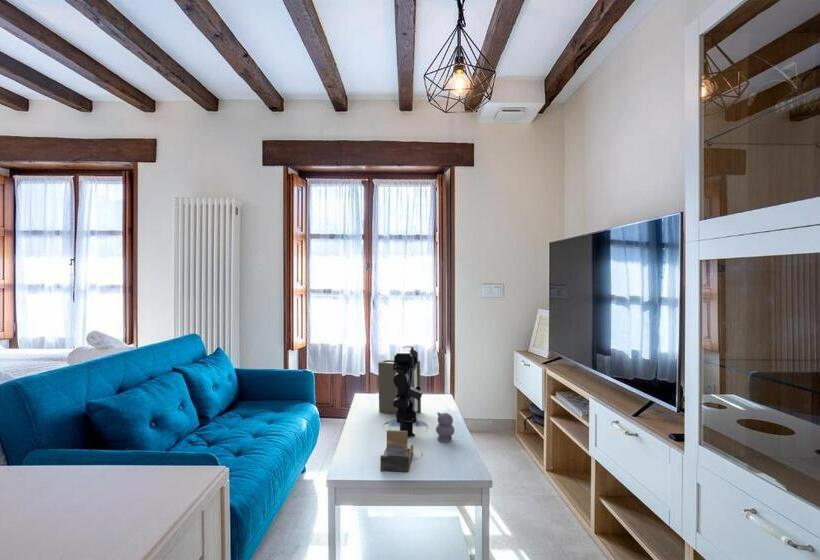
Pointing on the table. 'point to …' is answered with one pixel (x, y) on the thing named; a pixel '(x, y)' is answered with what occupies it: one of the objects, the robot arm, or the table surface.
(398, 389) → the robot arm
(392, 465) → the roller track
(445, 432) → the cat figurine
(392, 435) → the slab
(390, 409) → the book
